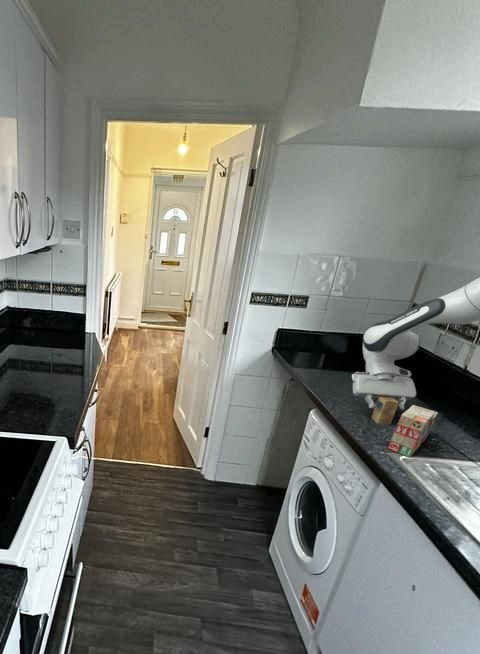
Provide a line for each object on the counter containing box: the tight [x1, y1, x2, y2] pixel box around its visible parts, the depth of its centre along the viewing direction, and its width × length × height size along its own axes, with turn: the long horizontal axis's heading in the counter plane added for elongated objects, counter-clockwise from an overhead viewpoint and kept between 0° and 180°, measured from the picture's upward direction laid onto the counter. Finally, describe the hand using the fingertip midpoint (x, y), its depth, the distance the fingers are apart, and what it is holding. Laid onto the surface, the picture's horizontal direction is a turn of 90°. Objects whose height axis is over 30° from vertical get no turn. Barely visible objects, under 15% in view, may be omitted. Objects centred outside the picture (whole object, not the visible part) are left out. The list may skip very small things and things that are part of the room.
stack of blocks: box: [386, 404, 439, 458], centre depth 132 cm, size 21×6×12 cm, turn 131°
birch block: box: [370, 396, 400, 426], centre depth 147 cm, size 4×4×9 cm
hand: (386, 408), depth 146 cm, fingers open, 8 cm apart
